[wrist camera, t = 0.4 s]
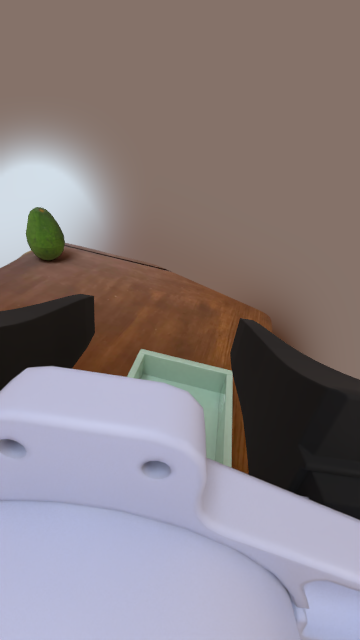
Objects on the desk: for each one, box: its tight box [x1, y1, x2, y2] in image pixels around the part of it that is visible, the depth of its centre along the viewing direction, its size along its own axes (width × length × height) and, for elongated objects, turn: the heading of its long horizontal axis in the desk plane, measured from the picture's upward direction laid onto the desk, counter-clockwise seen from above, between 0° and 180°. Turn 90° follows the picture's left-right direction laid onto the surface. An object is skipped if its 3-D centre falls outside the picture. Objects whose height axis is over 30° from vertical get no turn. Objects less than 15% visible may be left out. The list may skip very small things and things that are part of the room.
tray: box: [127, 349, 233, 467], centre depth 27 cm, size 15×13×4 cm
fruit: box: [26, 207, 65, 260], centre depth 56 cm, size 8×8×12 cm
